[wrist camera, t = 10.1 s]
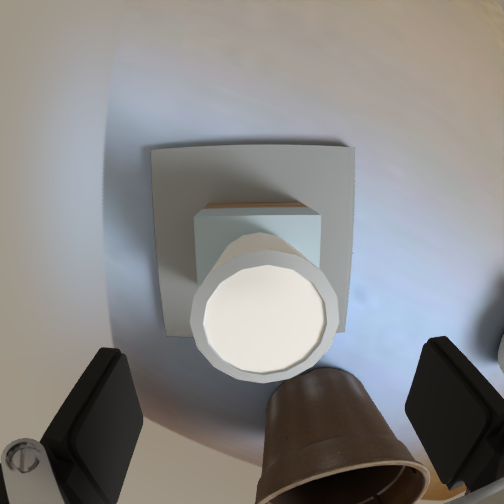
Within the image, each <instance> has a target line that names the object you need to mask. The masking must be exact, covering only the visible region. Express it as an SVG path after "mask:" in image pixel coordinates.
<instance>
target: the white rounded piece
mask: <svg viewBox="0 0 504 504" xmlns="http://www.w3.org/2000/svg"><path fill="white" fill-rule="evenodd" d="M338 325H339V311H338V300H337V295H336V293H335V292H334V290H333V288H332V286H331V285H330V283H329V281H328V280H327V278H326V276H325V275H324V273H323V272H322V271H321V270H320V269H319V268H317V267H316V266H315V265H314V264H313V263H312V262H310V261H309V260H308V259H307V258H306V257H305V256H303V255H302V254H301V253H300V252H299V251H298V250H296V249H295V248H294V247H293V246H292V245H290V244H289V243H287V242H286V241H284V240H283V239H282V238H280V237H279V236H277V235H272V234H267V233H262V232H258V233H253V234H247V235H243V236H241V237H240V238H238V239H236V240H235V241H233V242H232V243H230V244H229V245H228V246H227V247H226V249H225V250H224V252H223V253H222V255H221V256H220V258H219V259H218V261H217V262H216V264H215V265H214V267H213V268H212V270H211V271H210V272H209V274H208V275H207V277H206V278H205V280H204V281H203V283H202V284H201V286H200V287H199V289H198V290H197V292H196V293H195V295H194V297H193V304H192V310H191V317H190V326H191V329H192V332H193V336H194V339H195V342H196V346H197V348H198V349H199V350H200V351H201V353H202V354H203V355H204V356H205V357H206V359H207V360H208V361H209V362H210V363H211V364H212V366H213V367H215V368H217V369H218V370H220V371H222V372H224V373H226V374H228V375H230V376H232V377H233V378H235V379H238V380H244V381H251V382H257V383H268V382H274V381H280V380H286V379H290V378H292V377H294V376H296V375H298V374H300V373H302V372H303V371H305V370H307V369H309V368H311V367H312V366H314V365H315V364H316V363H317V361H318V360H319V359H320V358H321V357H322V356H323V355H324V354H325V352H326V351H327V350H328V349H329V348H330V347H331V344H332V342H333V339H334V336H335V333H336V330H337V328H338Z"/></svg>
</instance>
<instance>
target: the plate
mask: <svg viewBox="0 0 504 504" xmlns="http://www.w3.org/2000/svg"><path fill="white" fill-rule="evenodd" d="M151 176H152V198H153V215H154V230H155V243H156V254H157V265H158V275H159V284H160V293H161V301H162V309H163V317H164V324H165V331H166V336H172V337H194V336H193V332H192V329H191V326H190V317H191V310H192V304H193V297H194V295H195V293H196V292H197V290H198V283H197V268H196V252H195V235H194V216H195V215H196V214H197V213H198V212H199V211H200V210H202V209H203V208H204V207H205V206H206V205H207V204H208V203H239V202H301V203H303V204H305V205H306V206H308V207H309V208H311V209H313V210H314V211H316V212H317V213H319V214H320V215H321V240H320V265H319V269H320V270H321V271H322V272H323V273H324V275H325V276H326V278H327V280H328V281H329V283H330V285H331V286H332V288H333V290H334V292H335V293H336V295H337V300H338V311H339V325H338V328H337V330H336V333H339V332H345V324H346V316H347V306H348V296H349V285H350V273H351V260H352V244H353V224H354V195H355V147H340V146H319V145H219V146H197V147H180V148H167V149H155V150H151Z"/></svg>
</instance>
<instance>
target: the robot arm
mask: <svg viewBox="0 0 504 504" xmlns="http://www.w3.org/2000/svg"><path fill="white" fill-rule="evenodd" d="M405 413H406V415H407V417H408V419H409V420H410V422H411V424H412V426H413V428H414V430H415V432H416V434H417V435H418V437H419V439H420V441H421V443H422V445H423V447H424V449H425V451H426V453H427V455H428V457H429V459H430V461H431V463H432V464H433V466H434V468H435V470H436V472H437V474H438V476H439V479H440V481H441V482H442V483H443V484H446V485H447V487H448V489H449V491H450V490H453V489H455V488H458V487H460V486H462V485H463V484H464V483H465V485H466V487H467V489H466V492H465V495H464V496H462V497H460V498H457V499H455V500H452V501H450V502H447V503H445V504H504V399H503V398H502V396H501V395H500V394H499V393H498V392H497V391H496V390H495V388H494V387H493V386H492V385H491V384H490V383H489V382H488V380H487V379H486V378H485V377H484V376H483V375H482V374H481V373H480V372H479V370H478V369H477V368H476V367H475V366H474V365H473V364H472V363H471V362H470V361H469V360H468V359H467V357H466V356H465V355H464V354H463V353H462V352H461V351H460V350H459V349H458V348H457V347H456V346H455V345H454V344H453V343H452V342H451V341H450V340H449V339H448V338H447V337H446V336H440V337H434V338H430V339H429V340H428V341H427V343H425V344H424V345H423V348H422V352H421V355H420V359H419V362H418V366H417V369H416V373H415V376H414V379H413V382H412V385H411V388H410V391H409V394H408V397H407V400H406V403H405ZM142 425H143V414H142V411H141V408H140V405H139V401H138V398H137V394H136V391H135V387H134V384H133V380H132V376H131V373H130V369H129V365H128V361H127V357H126V355H125V354H121V351H120V350H119V349H116V348H104V347H103V348H100V349H99V351H98V352H97V354H96V355H95V356H94V358H93V360H92V361H91V362H90V364H89V365H88V367H87V368H86V370H85V371H84V373H83V374H82V376H81V377H80V379H79V380H78V382H77V383H76V384H75V386H74V388H73V389H72V391H71V392H70V394H69V395H68V397H67V398H66V400H65V401H64V403H63V405H62V406H61V408H60V409H59V411H58V413H57V414H56V415H55V417H54V419H53V420H52V422H51V423H50V425H49V427H48V428H47V430H46V432H45V433H44V435H43V437H42V439H41V440H40V442H38V441H36V440H33V439H29V438H22V439H17V440H15V441H13V442H11V443H10V444H8V445H7V446H6V448H5V449H4V450H3V452H2V455H1V464H0V504H116V503H117V501H118V498H119V495H120V492H121V489H122V486H123V482H124V479H125V476H126V473H127V470H128V467H129V464H130V461H131V458H132V455H133V452H134V449H135V446H136V443H137V440H138V437H139V434H140V431H141V429H142Z"/></svg>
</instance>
